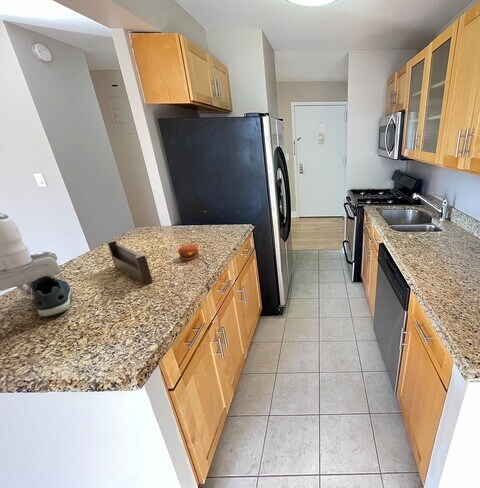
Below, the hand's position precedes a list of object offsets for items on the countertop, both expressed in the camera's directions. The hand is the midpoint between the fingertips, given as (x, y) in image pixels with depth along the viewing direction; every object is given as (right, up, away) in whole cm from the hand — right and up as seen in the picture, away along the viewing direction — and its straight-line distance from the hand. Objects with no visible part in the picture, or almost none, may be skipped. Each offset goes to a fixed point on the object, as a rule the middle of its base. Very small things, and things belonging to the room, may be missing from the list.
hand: (29, 294), depth 94 cm
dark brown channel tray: (+17, +4, +26) cm, 32 cm away
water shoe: (+3, -4, +7) cm, 8 cm away
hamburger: (+35, +11, +44) cm, 58 cm away
